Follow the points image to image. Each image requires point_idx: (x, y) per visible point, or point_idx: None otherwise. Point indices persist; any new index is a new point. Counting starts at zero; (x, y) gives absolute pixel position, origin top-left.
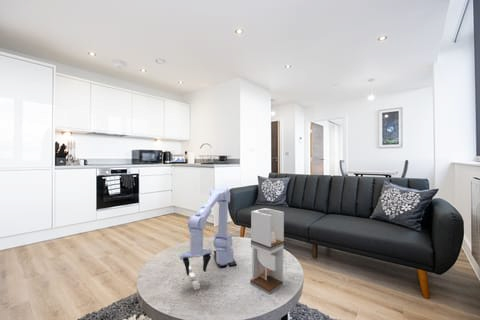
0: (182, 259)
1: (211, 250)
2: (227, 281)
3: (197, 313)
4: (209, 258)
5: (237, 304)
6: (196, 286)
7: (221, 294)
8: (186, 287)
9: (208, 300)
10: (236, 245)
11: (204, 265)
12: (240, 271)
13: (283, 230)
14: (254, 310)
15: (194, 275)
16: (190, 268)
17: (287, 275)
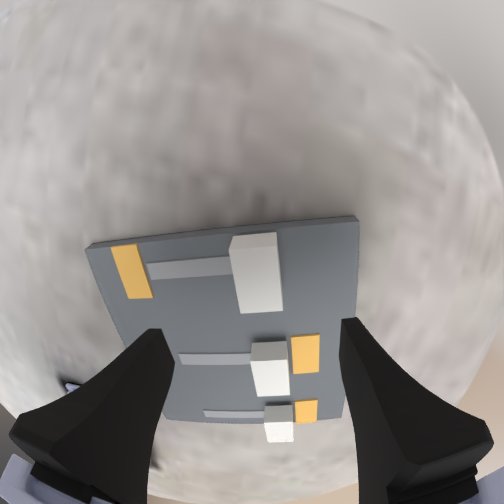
0: (488, 479)
1: (14, 499)
2: (70, 282)
3: (281, 4)
4: (21, 422)
5: (44, 60)
6: (258, 243)
7: (98, 162)
8: None
9: (185, 112)
10: None
11: (138, 385)
12: (34, 333)
13: None
14: (8, 27)
15: (256, 369)
16: (270, 425)
17: None
